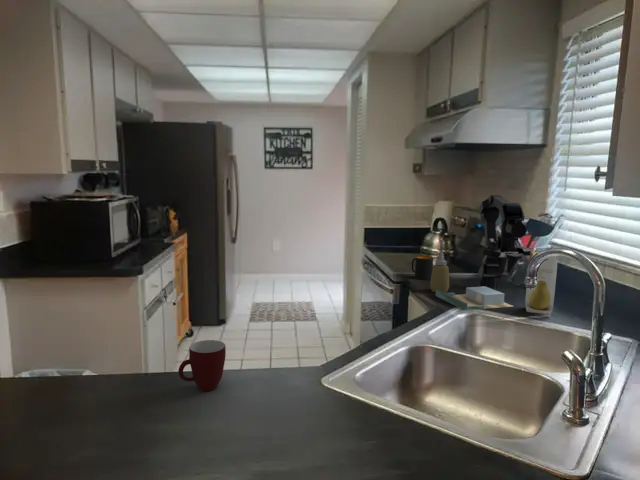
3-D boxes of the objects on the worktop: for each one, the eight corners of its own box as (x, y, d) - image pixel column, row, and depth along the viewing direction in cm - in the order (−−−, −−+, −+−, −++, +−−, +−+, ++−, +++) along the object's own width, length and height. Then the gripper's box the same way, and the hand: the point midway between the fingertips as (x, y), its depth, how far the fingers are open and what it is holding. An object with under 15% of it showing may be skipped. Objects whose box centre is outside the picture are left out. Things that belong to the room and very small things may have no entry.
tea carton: (484, 295, 193) (485, 286, 192) (503, 303, 181) (504, 293, 181) (465, 297, 190) (466, 287, 189) (484, 305, 179) (484, 295, 178)
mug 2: (417, 274, 237) (418, 254, 235) (435, 279, 227) (436, 258, 226) (405, 276, 232) (406, 255, 230) (423, 281, 222) (425, 259, 221)
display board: (481, 295, 197) (481, 287, 196) (513, 309, 178) (514, 300, 178) (435, 298, 190) (436, 290, 190) (464, 313, 171) (465, 303, 171)
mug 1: (187, 402, 101) (186, 358, 99) (174, 388, 107) (173, 346, 106) (231, 389, 107) (231, 348, 105) (216, 377, 113) (216, 337, 112)
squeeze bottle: (450, 296, 195) (453, 254, 192) (431, 296, 195) (434, 253, 192) (446, 291, 203) (448, 250, 200) (427, 291, 203) (429, 250, 200)
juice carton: (524, 315, 171) (530, 250, 168) (523, 309, 178) (529, 247, 175) (552, 318, 168) (559, 253, 164) (550, 312, 175) (557, 249, 171)
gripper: (513, 231, 195) (510, 268, 197) (475, 232, 189) (473, 269, 192) (533, 235, 184) (529, 273, 187) (493, 235, 179) (490, 275, 181)
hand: (505, 272), depth 187 cm, fingers open, 3 cm apart
